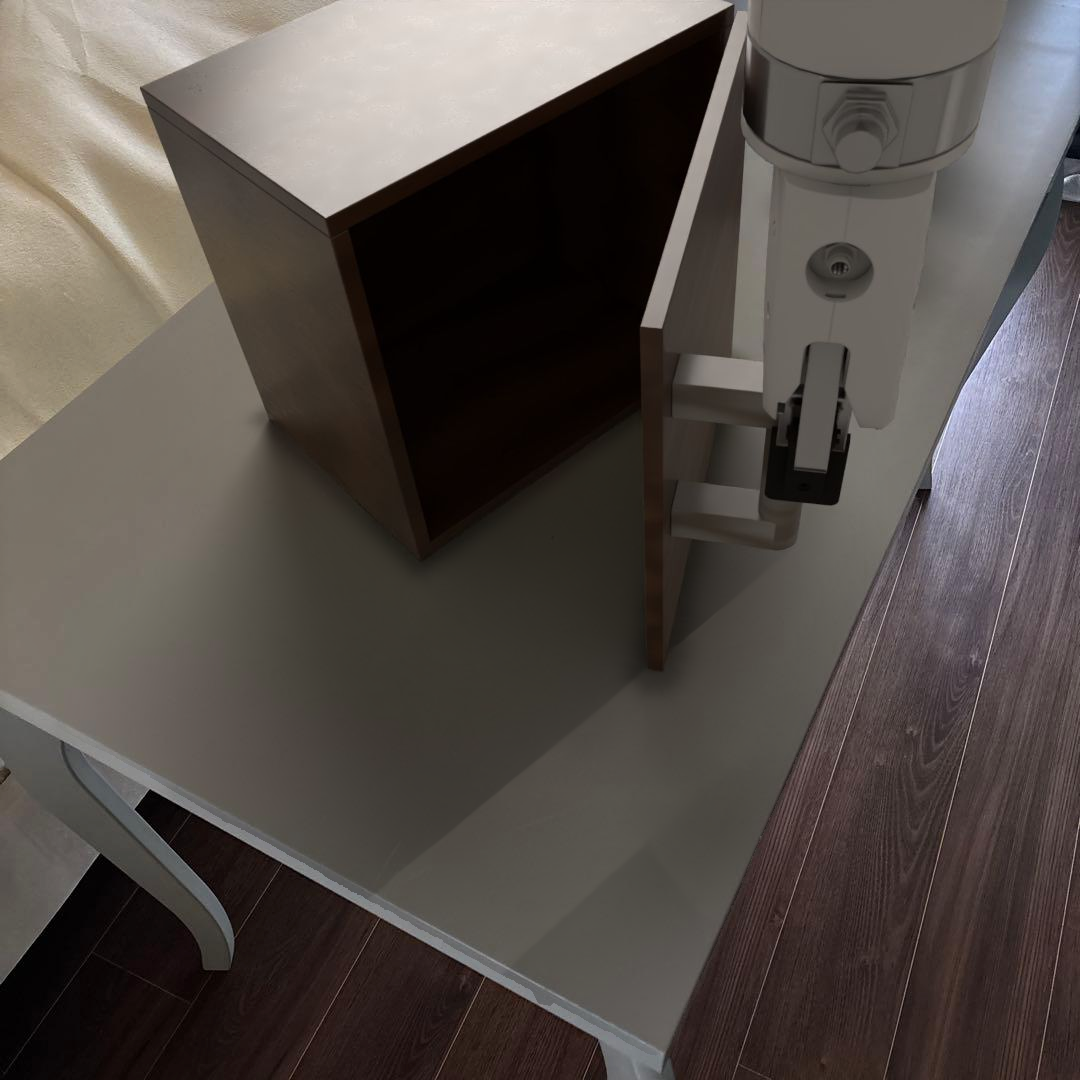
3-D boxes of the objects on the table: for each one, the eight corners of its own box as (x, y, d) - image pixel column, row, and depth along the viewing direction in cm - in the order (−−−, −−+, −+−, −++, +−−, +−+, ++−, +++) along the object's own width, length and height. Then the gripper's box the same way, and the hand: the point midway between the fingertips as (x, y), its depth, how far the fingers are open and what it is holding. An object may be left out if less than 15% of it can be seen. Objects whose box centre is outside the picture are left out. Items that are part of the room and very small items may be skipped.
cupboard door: (820, 368, 72) (872, 13, 54) (774, 691, 57) (827, 345, 38) (718, 358, 74) (736, 10, 56) (646, 669, 58) (639, 327, 40)
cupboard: (717, 355, 74) (735, 3, 56) (420, 561, 65) (325, 219, 46) (548, 252, 84) (516, -78, 65) (268, 418, 74) (138, 86, 56)
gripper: (997, 233, 28) (885, 629, 42) (979, -29, 38) (893, 364, 52) (713, 218, 30) (696, 605, 44) (766, -30, 40) (738, 352, 54)
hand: (803, 472), depth 48 cm, fingers closed on cupboard door, 2 cm apart
